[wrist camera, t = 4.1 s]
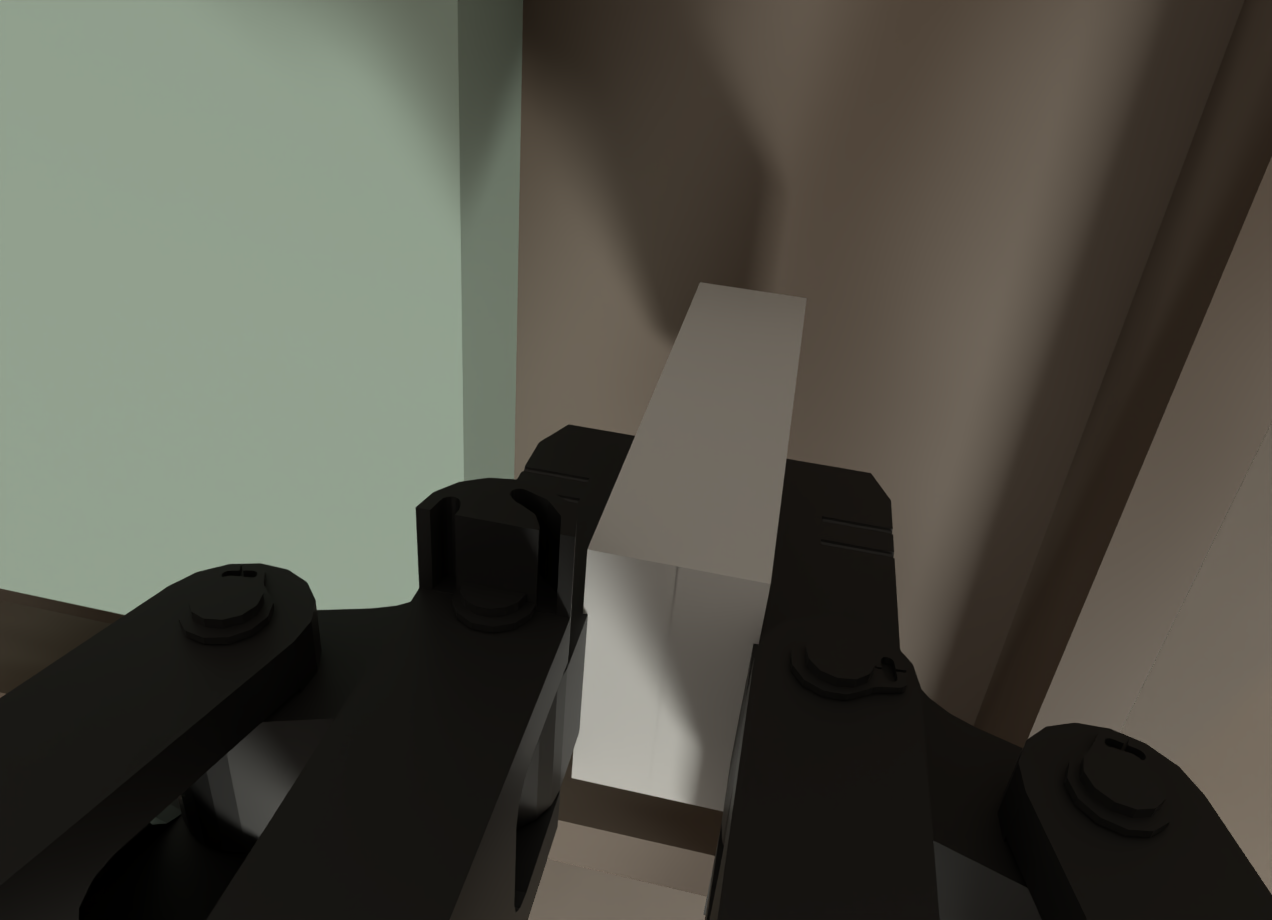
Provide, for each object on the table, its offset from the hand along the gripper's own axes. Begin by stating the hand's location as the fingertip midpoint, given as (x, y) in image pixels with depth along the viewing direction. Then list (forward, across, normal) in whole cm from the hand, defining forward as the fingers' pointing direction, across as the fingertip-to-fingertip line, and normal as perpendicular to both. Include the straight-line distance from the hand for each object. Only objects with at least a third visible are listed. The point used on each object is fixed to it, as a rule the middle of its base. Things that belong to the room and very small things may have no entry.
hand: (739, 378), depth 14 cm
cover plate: (+1, +10, 0) cm, 10 cm away
